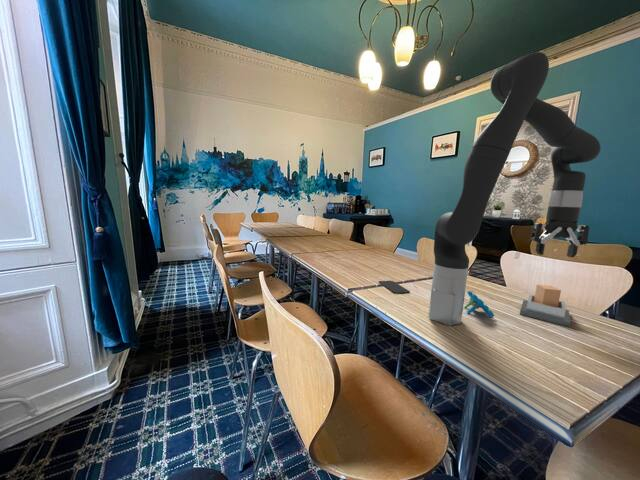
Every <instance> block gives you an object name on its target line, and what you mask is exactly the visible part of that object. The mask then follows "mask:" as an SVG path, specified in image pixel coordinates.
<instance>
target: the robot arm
mask: <svg viewBox="0 0 640 480" xmlns="http://www.w3.org/2000/svg"><path fill="white" fill-rule="evenodd" d="M549 67H550V61H549V58H548V56H547V54H546V53H543V52H541V51H536V52H532V53H528V54H526V55H523V56H521V57H519V58H517V59H515V60H512V61H511V62H508V63H506V64H504V65H503V66H501V67H499V68H497V70H496V71H495V72H494V73H493V75H492V77H491V79H490V83H489V86H490V91H491V94H492V96H494V98H495V100H497V101H498V102H499V103H501V104H502V107H501V109H500V110H499V111H498V112H497V114H496V115H495V117H494V118H493V119H492V120H491V121H490V122H489V123H488V124H487V126H486V127H484V129H483V130H482V131H481V132H480V134H479V135H478V137H476V139H475V141H474V142H473V144H472V146H471V148H470V151H469V154H468V156H467V158H466V161H465V163H464V168H463V177H462V178H463V179H462V180H463V181H462V182H463V183H462V184H463V185H462V190H461V195H459V196H460V197H459V198H458V201H457V203H456V206H455V208H454V209H453V211H451V212H450V211H449V212H446V213H443V214H442V215H441V216H440V217H439V218H438V219H437V221H436V224H435V228H434V229H435V230H434V242H433V255H434V265H433V273H432V274H433V275H432V281H431V282H432V283H431V290H430V291H431V292H430V301H429V308H428V309H429V310H428V311H429V312H428V316H429V319H430V320H431V321H434V322H436V323H440V324H444V325H447V326H450V327H451V326H455V325H460V324H461V323H462V320H463V319H462V318H463V311H464V303H465V295H466V294H465V293H466V288H467V281H468V273H469V266H470V258H469V256H468V254H467V251H466V245H467V244H470V243H472V242H473V240H474V239H475V238H476V237H477V235H478V233H479V231H480V229H481V225H482V222H483V218H484V216H485V212H486V209H487V206H488V202H489V200H490V197H491V195H492V193H493V191H494V190H495V187H496V185H497V182H498V180H499V177H500V175H501V174H502V171H503V169H504V167H505V165H506V162H507V160H508V158H509V155H510V154H511V153H510V152H511V150H512V148H513V146H514V143H515V140H516V138H517V137H518V134H519V132H520V129H521V128H522V126H523V123H524V121H525V122H527V123H528V124H529V125H530V126H531V127H532V128H533V129H534V130H535V131H536V132H537V134H538V135H540V137H541V138H542V140H543V141H545V143H546V144H547V145H548V146H549V147H553V149H552V151H551V154H550V160H551V166H552V173H553V184H552V188H551V189H552V190H551V193H550V196H549V200H548V206H547V213H546V217H545V218H546V219H545V220H546V221H545V223H541V222H534V223H533V226H532V229H531V234H530V238H529V239H530V240H531V241H533V242H535V244H536V245H535V253H536V254H537V255H540V256H544V252H545V251H544V250H545V247H546V246H545V245H546V244H545V243H546V242H548V241H549V240H551V239H552V238H562V239H565V240H567V242H568V243H569V245H568V249H567V253H566V256H567V257H568V258H575V256H576V255H577V253H578V249H579V247H580V246H581V245H587V244H588V240H589V234H590V233H589V232H590V226H589V225H585V224H580V225H578V221H579V220H580V219H579V218H580V214H581V209H582V206H583V205H582V204H583V197H584V187H585V184H586V176H587V174H586V173H585V172H583V171H579V170H572V169H571V164H581V163H588V162H591V161H593V160H594V159H596V158H598V155H600V152H601V143H600V141H599V140H598V138H597V137H595V136H594V135H593V134H591V133H590V132H588V131H587V130H584V129H583V128H580V127H578V126H577V125H576V124H575V123H574V121H573V120H572V119H571V117H570V116H569V115H568V114H567V112H565V111H564V110H563V109H561V108H560V107H557V106H556V105H553V104H551V103H549V102H546V101H544V100H541V99H540V98H538V96H539V94H540V93H541V91H542V88H543V87H544V84H545V82H546V80H547V77H548V75H549V74H548V73H549V69H550V68H549ZM544 229H545V231H544V232H542V231H543V230H544ZM576 231H577V235H576V234H575V232H576ZM541 232H542V234H541Z"/></svg>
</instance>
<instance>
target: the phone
mask: <svg viewBox="0 0 640 480" xmlns="http://www.w3.org/2000/svg"><path fill="white" fill-rule="evenodd" d="M378 282H379V283H378V284H380V285H381V284H382V285H383V286H382V285H381V286H382V287H384V288H385V289H387V290H388V291H390V292H391V293H393V294H396V295H402V294H403V295H404V294H410V293H411V291H410V290H409V289H407V288H405V287H404V286H402V285H401V284H399V283H397V282H395V281H394V280H379V281H378Z"/></svg>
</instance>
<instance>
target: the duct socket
mask: <svg viewBox="0 0 640 480" xmlns="http://www.w3.org/2000/svg"><path fill="white" fill-rule="evenodd" d="M534 298H535V295H534V294H529V295H528V299H523V301H522V305H521V307H520V310H519V315H521V316H525V317H529V318H533V319H536V320H540V321H545V322H547V323H548V322H549V323H552V324H556V325H559V326H564V327H566V328H567V327H568V328H570V326H571V317H570V309H566V302H565V301H562V300H559V304H558V307H554V306H549V305H545V304H540V303H536V302H534Z"/></svg>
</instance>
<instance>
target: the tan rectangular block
mask: <svg viewBox="0 0 640 480" xmlns="http://www.w3.org/2000/svg"><path fill="white" fill-rule="evenodd" d="M561 293H562V290H561V289H559V288H557V287H555V286H552V285H546V284H544V285H543V284H536V288H535V295H534V296H535V298H534V302H536V303H540V304H545V305H549V306H554V307H558V304H559V301H560V298H561Z"/></svg>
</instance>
